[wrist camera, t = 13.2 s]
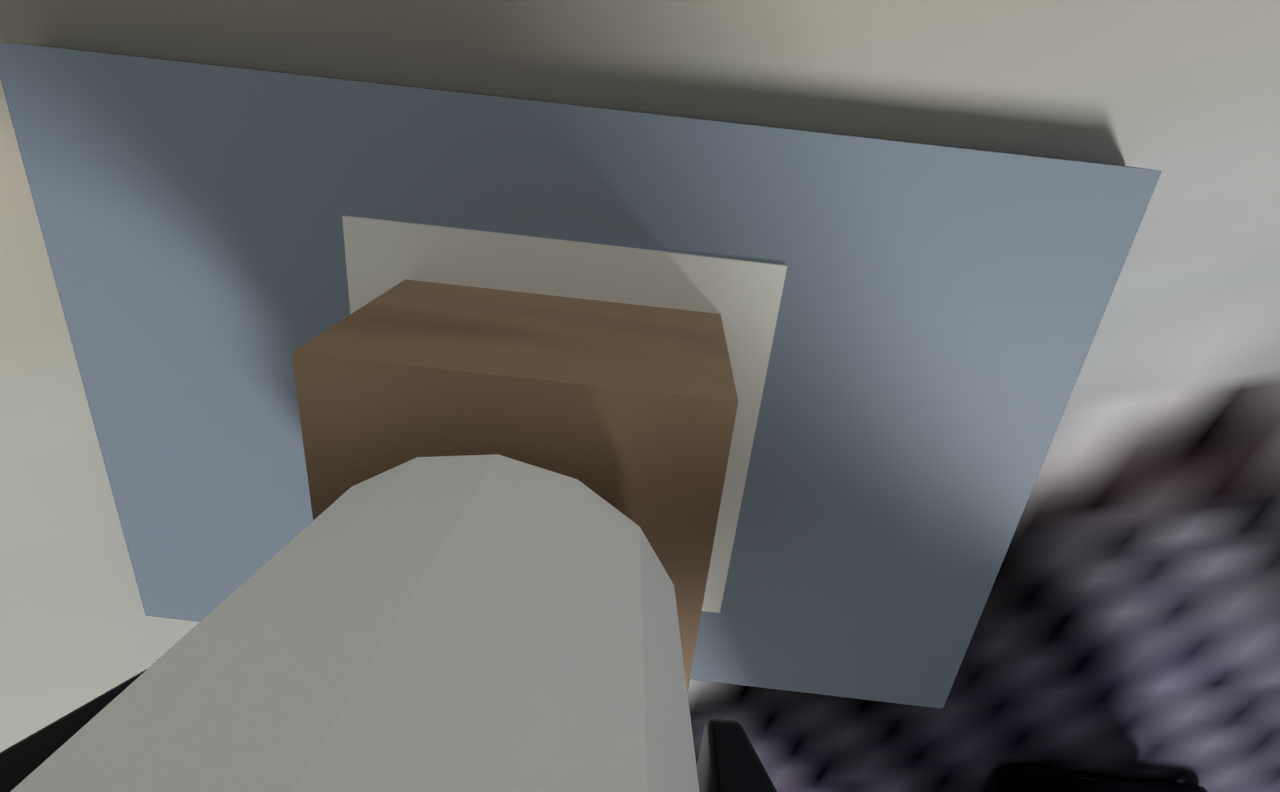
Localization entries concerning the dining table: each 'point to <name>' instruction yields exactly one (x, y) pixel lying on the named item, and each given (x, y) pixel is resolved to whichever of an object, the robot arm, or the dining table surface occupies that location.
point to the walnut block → (533, 405)
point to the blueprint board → (595, 270)
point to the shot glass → (418, 655)
